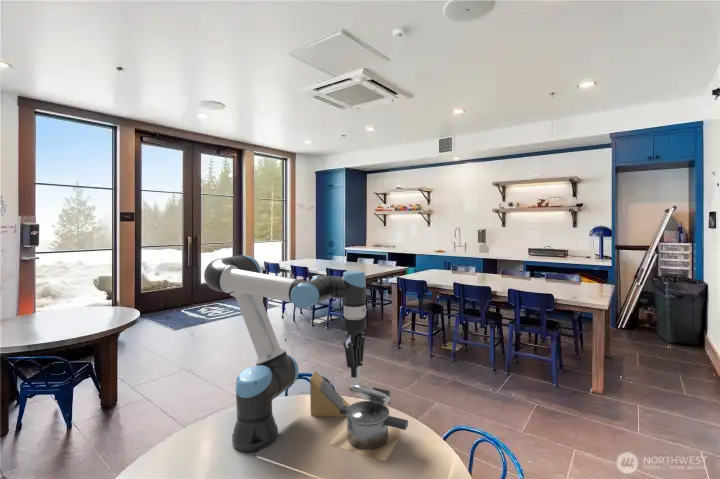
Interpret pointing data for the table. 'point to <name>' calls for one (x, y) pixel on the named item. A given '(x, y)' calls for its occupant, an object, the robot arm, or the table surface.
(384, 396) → the lid
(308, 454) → the table surface
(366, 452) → the trivet
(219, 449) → the table surface
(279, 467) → the table surface
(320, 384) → the sandwich container
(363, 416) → the pot
